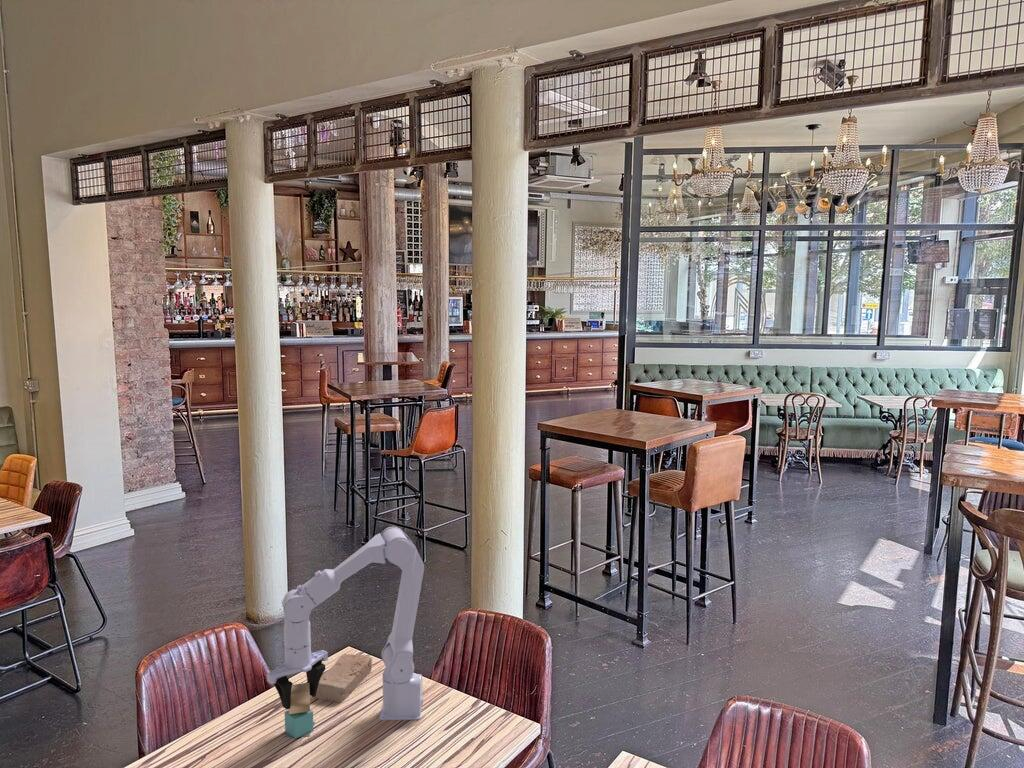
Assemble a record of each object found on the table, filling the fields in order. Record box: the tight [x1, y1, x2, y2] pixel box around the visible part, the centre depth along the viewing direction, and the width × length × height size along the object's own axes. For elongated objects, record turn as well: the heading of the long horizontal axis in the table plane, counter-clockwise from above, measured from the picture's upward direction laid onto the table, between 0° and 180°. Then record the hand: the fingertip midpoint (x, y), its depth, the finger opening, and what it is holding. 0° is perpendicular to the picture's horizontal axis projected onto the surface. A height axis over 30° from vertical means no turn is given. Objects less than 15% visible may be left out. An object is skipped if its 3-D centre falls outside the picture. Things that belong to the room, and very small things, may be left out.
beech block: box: [288, 682, 311, 714], centre depth 158 cm, size 4×4×4 cm
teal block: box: [284, 709, 314, 739], centre depth 158 cm, size 4×4×4 cm
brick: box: [314, 653, 373, 703], centre depth 179 cm, size 17×8×5 cm, turn 166°
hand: (299, 701), depth 158 cm, fingers closed on beech block, 6 cm apart
